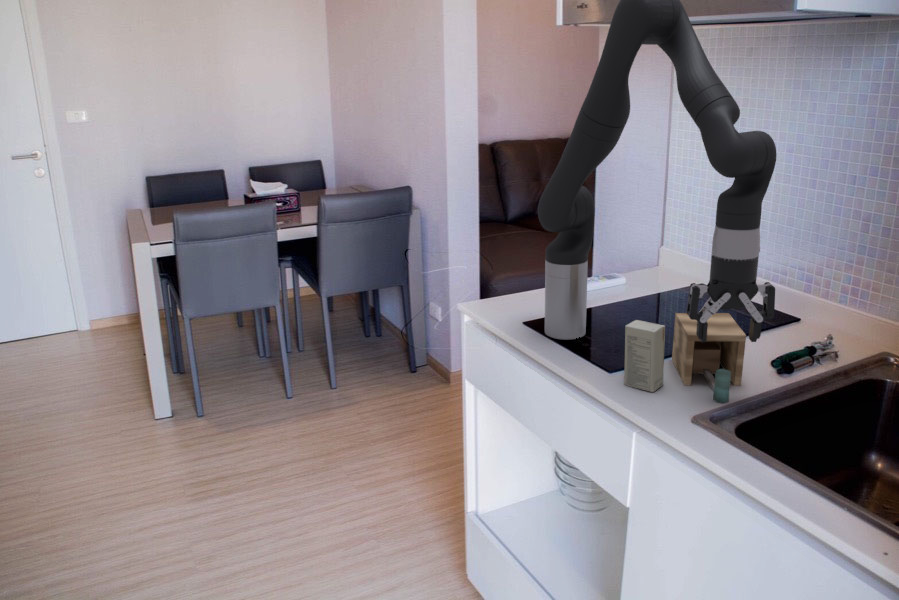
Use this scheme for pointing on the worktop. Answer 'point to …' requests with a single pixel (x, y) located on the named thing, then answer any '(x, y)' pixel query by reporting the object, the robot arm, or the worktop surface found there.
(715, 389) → the mallet
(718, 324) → the oak cubby
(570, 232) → the robot arm
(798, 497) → the worktop surface
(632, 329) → the skincare box
